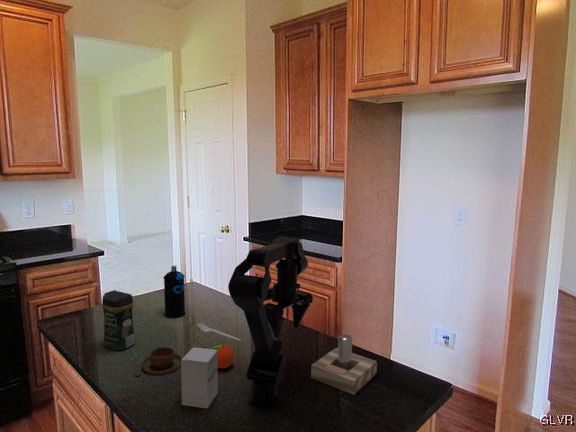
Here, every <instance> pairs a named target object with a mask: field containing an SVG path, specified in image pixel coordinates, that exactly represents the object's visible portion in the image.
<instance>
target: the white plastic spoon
mask: <svg viewBox="0 0 576 432" xmlns="http://www.w3.org/2000/svg"><path fill="white" fill-rule="evenodd" d="M196 325H197V327H198V328H199V329H200V331H203V332H206V333H209V332H212V333H215V334H217V335H221V336H222V337H223V336H224V337H227V338H231V339H233V340H237V341H241V339H240V338H238V337H235V336H233V335H230V334H227V333H224V332H222V331H221V330H220V331H219V330H217V329H214V328H211V327H209V326H207V325H205V324H204V322H202V321H200V322H199V323H198V324H196Z"/></svg>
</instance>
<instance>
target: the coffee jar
mask: <svg viewBox="0 0 576 432" xmlns="http://www.w3.org/2000/svg"><path fill="white" fill-rule="evenodd" d="M101 299H102V301H101V305H102V311H103V321H104V323H103V326H104V327H103V331H104V332H103V342H104V344H103V345H104V346H105V347H106V348H109V349H111V350H114V351H116V352H117V351H124V350H126V349H127V350H128V349H129V348H132V346H133V345H134V344H135V342H136V341H135V331H134V321H133V307H134V300H133V295H132V294H130V293H128V292H124V291H118V290H115V289H114V290H110V291H107V292H104V294H103V295H102V298H101Z"/></svg>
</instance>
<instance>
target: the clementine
mask: <svg viewBox="0 0 576 432" xmlns="http://www.w3.org/2000/svg"><path fill="white" fill-rule="evenodd" d="M210 349H214V350H218V351H217V355H218V369H226V368H228V367H230V366H231V364H232V363H233V361H234V357H235V356H234V350H233V349H232V348H231V347H230V345H227V344H225V343H224V344H223V343H222V344H218V345H215V346H213V347H211V348H210Z"/></svg>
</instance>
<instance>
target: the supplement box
mask: <svg viewBox="0 0 576 432" xmlns="http://www.w3.org/2000/svg"><path fill="white" fill-rule="evenodd" d="M217 351H218V350H214V349H211V348H204V347H203V348H202V347H191V349H190V350H189V351H188V352H187V353H186V354H185V355H184V357H182V360H181V366H180V369H181V370H180V371H181V372H180V373H181V375H180V376H181V405H182V406H187V407H194V408H200V409H201V408H202V409H209V407H210V405H211V404H212V402H213V401H214V399H215V397H216V396H217V395H218V392H219V391H218V388H219V383H218V382H219V376H218V371H219V370H218V369H219V368H218V355H217Z"/></svg>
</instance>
